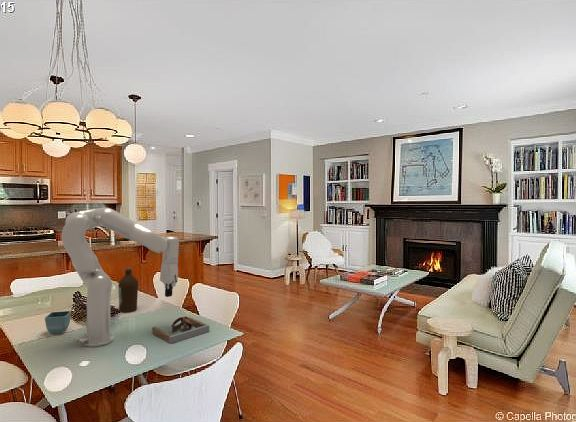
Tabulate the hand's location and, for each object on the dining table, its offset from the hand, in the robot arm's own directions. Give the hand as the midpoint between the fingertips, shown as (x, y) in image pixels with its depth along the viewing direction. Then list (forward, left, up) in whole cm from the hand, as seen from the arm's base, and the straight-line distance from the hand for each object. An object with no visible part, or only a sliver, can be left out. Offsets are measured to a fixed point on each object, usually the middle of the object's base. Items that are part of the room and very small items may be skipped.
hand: (168, 296), depth 177 cm
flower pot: (-40, +31, -16) cm, 53 cm away
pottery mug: (+2, -10, -16) cm, 19 cm away
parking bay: (+1, -10, -16) cm, 19 cm away
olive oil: (-2, +41, -16) cm, 44 cm away
